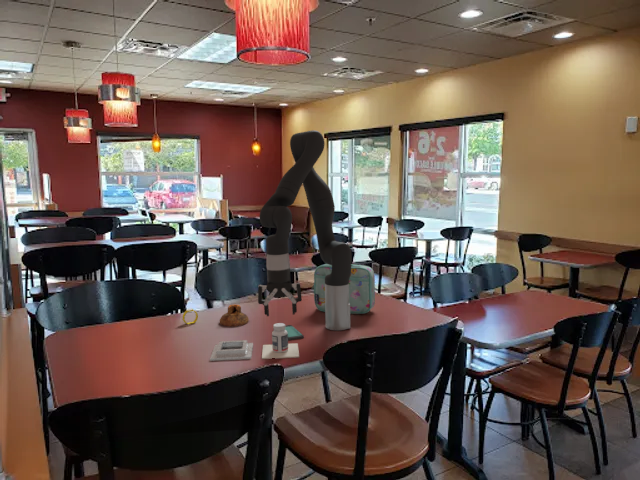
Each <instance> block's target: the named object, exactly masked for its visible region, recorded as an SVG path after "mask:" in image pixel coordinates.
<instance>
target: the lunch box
mask: <svg viewBox="0 0 640 480" xmlns="http://www.w3.org/2000/svg"><path fill="white" fill-rule="evenodd" d="M331 272H332V265H329V264H326V263H324V264H321V265H319V266H317V267H316V268H315V269H314V273H313V284H312V287H311V290H313V299H314V305H315V307H316V309H317V310H318V311H320V312H324V313H325V276H327V275H329V274H331ZM375 280H376V279H375V271H374V270H373V268H372V267H370V266H369V265H364V264H352V263H351V276H350V278H349V303H350V315H360V314H364V315H365V314H367V313H369V312H370V311H371V310H372V309H373V308H374V306H375V304H376V303H375V302H376V281H375Z"/></svg>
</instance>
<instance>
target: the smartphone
mask: <svg viewBox="0 0 640 480" xmlns="http://www.w3.org/2000/svg"><path fill="white" fill-rule="evenodd" d="M285 330H286V331H287V332H288V342H289V341H294V340H300V339H304V338H305V337H304V336H305V335H303V334H302V333H301V332H300V331H299V330H298V329H297V328H296V327H295V326H293V325H292V324H287V325H286V324H285Z"/></svg>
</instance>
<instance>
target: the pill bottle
mask: <svg viewBox="0 0 640 480" xmlns="http://www.w3.org/2000/svg"><path fill="white" fill-rule="evenodd" d="M272 326H273V331H272V332H271V341H272V343H271V345H272V348H273V351H274V352H276V353H283V352H286V351H288V344H289V341H288V332H287V331H286V330H285V326H286V323H283V322H278V323H274V324H272Z"/></svg>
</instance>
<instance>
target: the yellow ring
mask: <svg viewBox="0 0 640 480" xmlns="http://www.w3.org/2000/svg"><path fill="white" fill-rule="evenodd" d="M191 312H194V313H195V318H194V320H193V321H190V322H187V321H186V317H185V316H187V315H186V314H187V313H191ZM198 318H199V314H198V312H197V311H196V310H194V308H190V307H189V308H187V309H186V310H185V311H184V312H183V314H182V321H183V323H184V324H186V325H191V324H195V323H196V322H197V321H198Z"/></svg>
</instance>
